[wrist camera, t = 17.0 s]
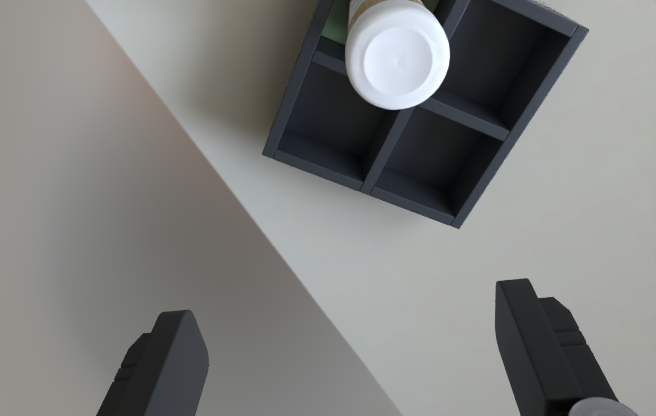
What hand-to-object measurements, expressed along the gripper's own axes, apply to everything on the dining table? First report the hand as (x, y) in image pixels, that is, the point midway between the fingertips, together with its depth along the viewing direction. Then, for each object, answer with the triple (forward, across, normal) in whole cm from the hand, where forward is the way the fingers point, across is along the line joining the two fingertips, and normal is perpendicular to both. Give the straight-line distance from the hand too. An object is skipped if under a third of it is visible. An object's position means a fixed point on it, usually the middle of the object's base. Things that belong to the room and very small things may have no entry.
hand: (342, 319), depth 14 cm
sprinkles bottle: (+26, -3, -3) cm, 26 cm away
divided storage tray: (+26, -4, +2) cm, 27 cm away
